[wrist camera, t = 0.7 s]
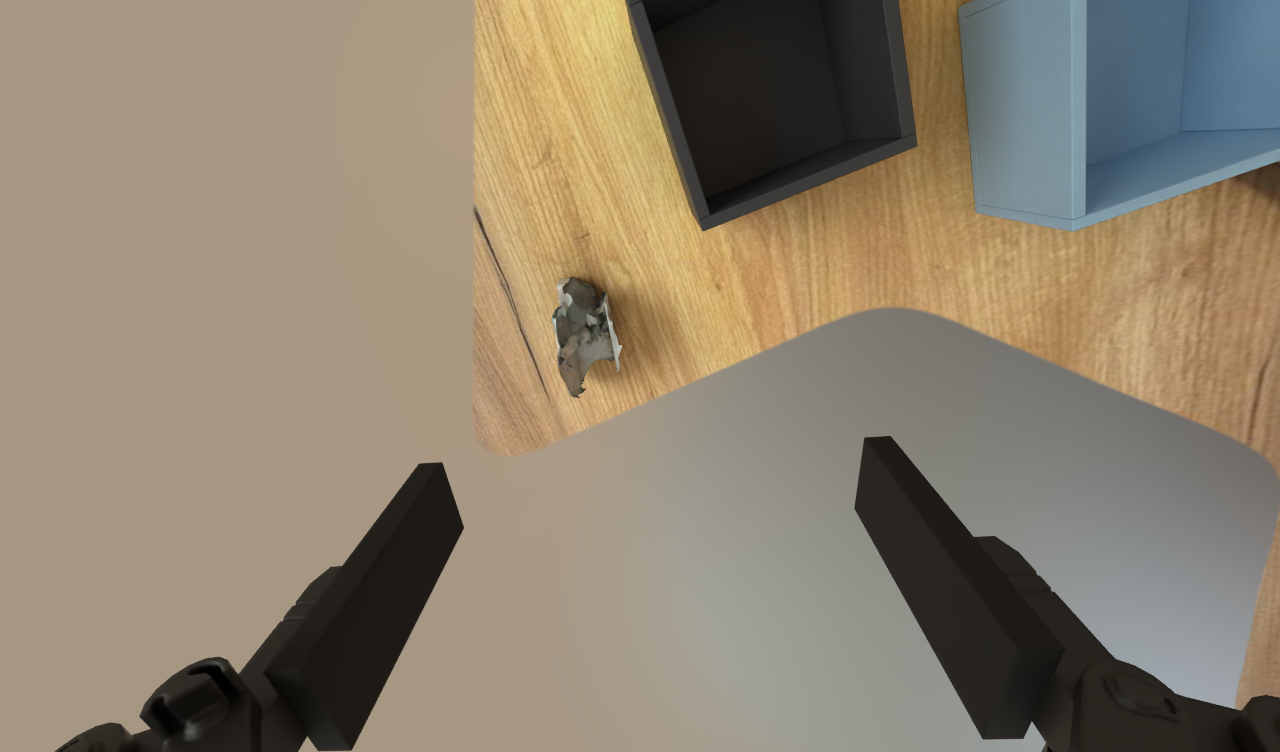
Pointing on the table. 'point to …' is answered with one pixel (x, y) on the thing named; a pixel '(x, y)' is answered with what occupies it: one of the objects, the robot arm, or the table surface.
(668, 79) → the waste bin
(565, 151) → the table surface
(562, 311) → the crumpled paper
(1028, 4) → the paper bin
